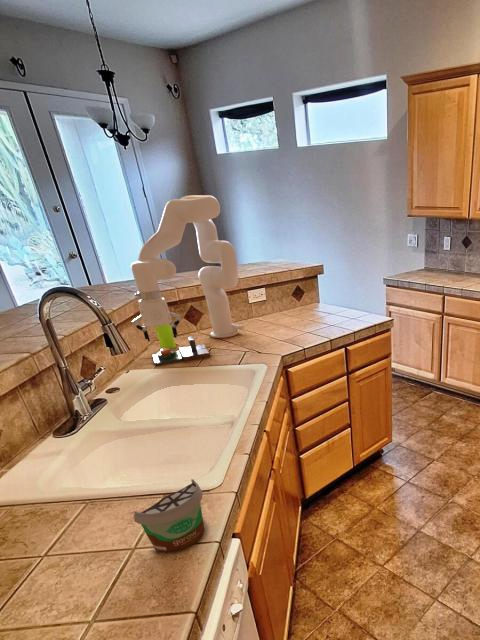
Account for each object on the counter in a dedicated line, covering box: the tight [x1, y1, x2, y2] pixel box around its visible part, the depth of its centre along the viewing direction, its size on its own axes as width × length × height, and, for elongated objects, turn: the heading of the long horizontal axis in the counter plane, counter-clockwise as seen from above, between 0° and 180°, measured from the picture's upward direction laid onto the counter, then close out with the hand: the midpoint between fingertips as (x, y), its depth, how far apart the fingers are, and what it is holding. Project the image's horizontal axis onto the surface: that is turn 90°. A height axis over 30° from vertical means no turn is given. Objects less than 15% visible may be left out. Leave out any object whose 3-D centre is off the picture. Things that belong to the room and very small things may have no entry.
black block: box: [187, 336, 197, 352], centre depth 180 cm, size 5×2×5 cm, turn 31°
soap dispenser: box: [154, 324, 177, 350], centre depth 187 cm, size 6×7×20 cm
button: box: [159, 348, 171, 354], centre depth 176 cm, size 4×4×2 cm
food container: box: [133, 478, 205, 554], centre depth 80 cm, size 12×6×10 cm, turn 148°
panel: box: [178, 344, 211, 362], centre depth 181 cm, size 10×14×2 cm
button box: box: [152, 349, 184, 367], centre depth 176 cm, size 10×12×3 cm
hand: (162, 338), depth 173 cm, fingers open, 9 cm apart
